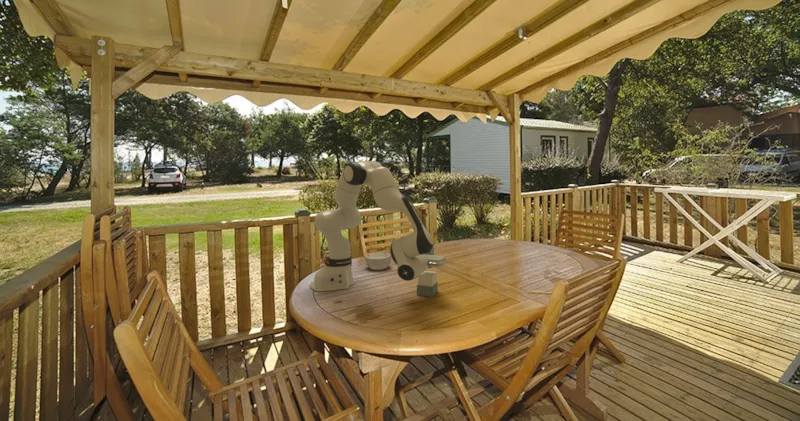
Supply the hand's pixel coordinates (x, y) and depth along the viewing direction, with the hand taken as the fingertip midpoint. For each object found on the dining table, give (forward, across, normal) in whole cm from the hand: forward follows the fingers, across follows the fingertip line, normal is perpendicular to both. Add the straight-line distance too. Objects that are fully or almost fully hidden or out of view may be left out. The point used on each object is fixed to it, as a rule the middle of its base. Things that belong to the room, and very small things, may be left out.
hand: (427, 255), depth 172 cm
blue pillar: (-1, 0, +5) cm, 5 cm away
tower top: (-1, 0, +13) cm, 13 cm away
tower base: (-1, 0, +18) cm, 18 cm away
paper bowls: (+29, +40, +18) cm, 53 cm away
